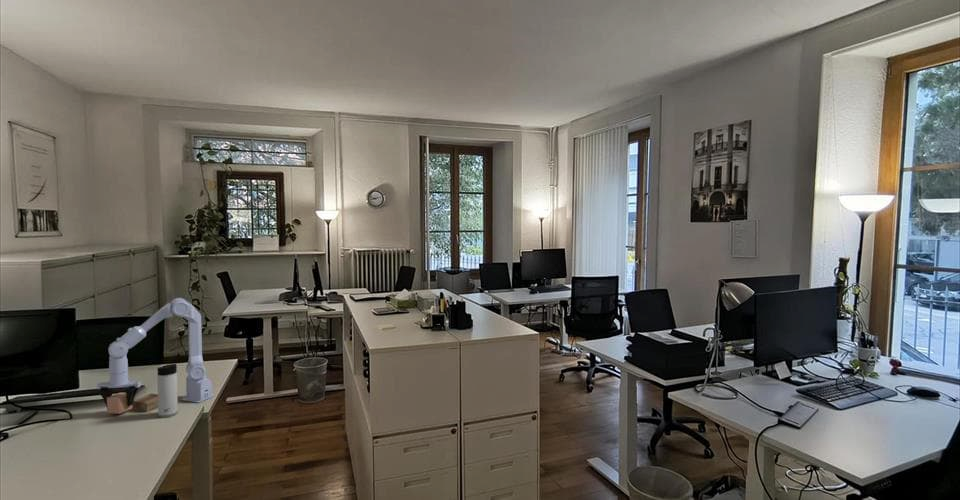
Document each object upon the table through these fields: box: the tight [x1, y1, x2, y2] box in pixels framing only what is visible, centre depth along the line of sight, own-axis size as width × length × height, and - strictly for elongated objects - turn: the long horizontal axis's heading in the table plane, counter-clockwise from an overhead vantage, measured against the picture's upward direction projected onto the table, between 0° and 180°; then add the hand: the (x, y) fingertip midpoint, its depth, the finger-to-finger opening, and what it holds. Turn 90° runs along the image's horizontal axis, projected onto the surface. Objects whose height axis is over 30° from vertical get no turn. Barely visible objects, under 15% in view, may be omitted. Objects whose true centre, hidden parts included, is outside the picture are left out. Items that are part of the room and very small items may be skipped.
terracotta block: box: [106, 391, 132, 415], centre depth 177 cm, size 6×6×6 cm
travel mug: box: [157, 363, 179, 419], centre depth 176 cm, size 6×7×20 cm
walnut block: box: [131, 393, 158, 413], centre depth 184 cm, size 8×8×4 cm
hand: (119, 405), depth 177 cm, fingers closed on terracotta block, 7 cm apart
